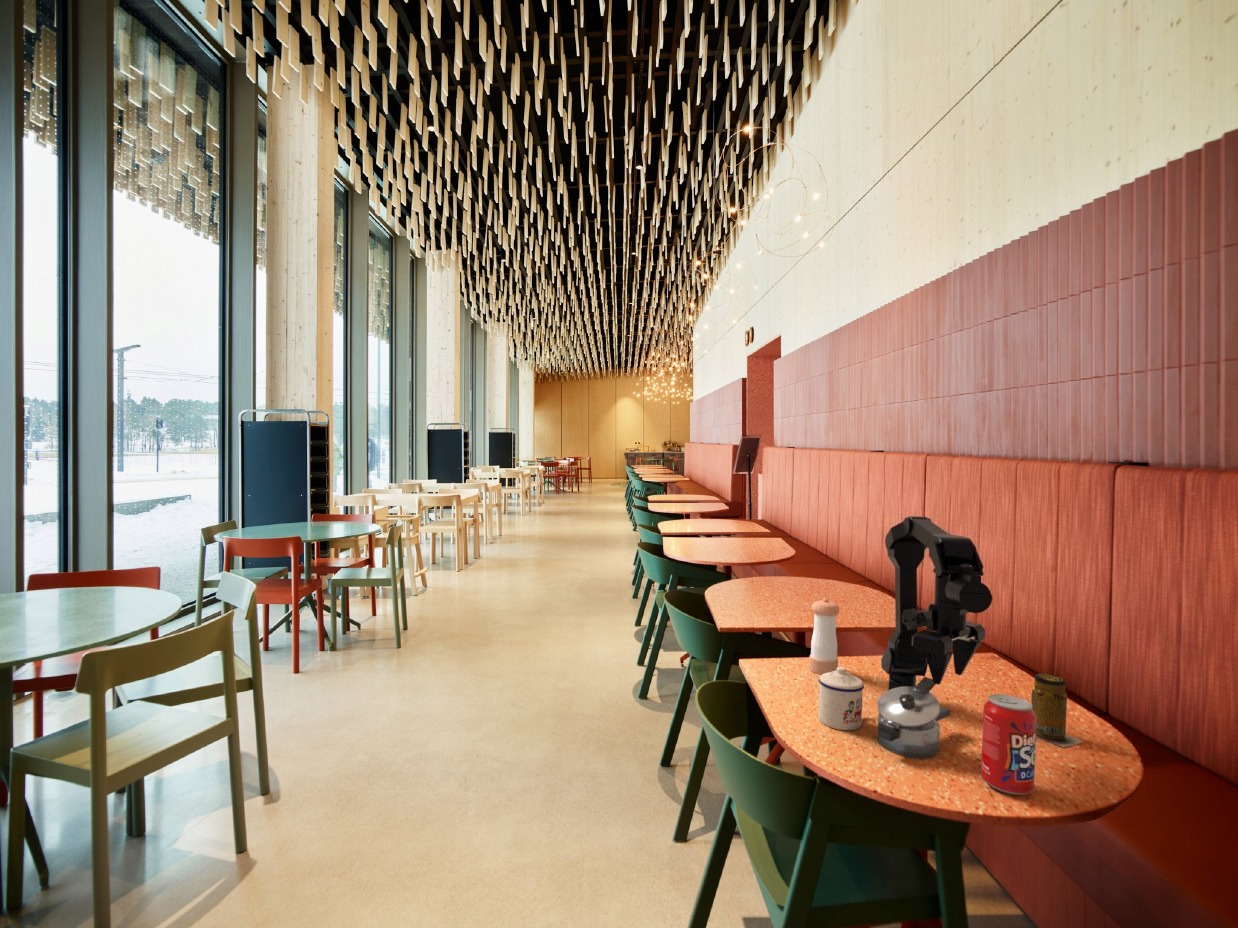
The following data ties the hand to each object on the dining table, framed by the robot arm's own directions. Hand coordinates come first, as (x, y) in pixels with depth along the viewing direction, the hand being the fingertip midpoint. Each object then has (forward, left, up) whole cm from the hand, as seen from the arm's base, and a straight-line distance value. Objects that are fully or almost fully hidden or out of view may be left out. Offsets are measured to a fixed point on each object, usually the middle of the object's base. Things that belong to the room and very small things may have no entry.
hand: (947, 678), depth 123 cm
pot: (+4, -4, -13) cm, 14 cm away
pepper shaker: (-16, -40, -13) cm, 45 cm away
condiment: (-24, +10, -14) cm, 29 cm away
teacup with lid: (+7, -18, -13) cm, 24 cm away
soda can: (+6, +14, -13) cm, 20 cm away
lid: (+6, -4, -5) cm, 9 cm away
